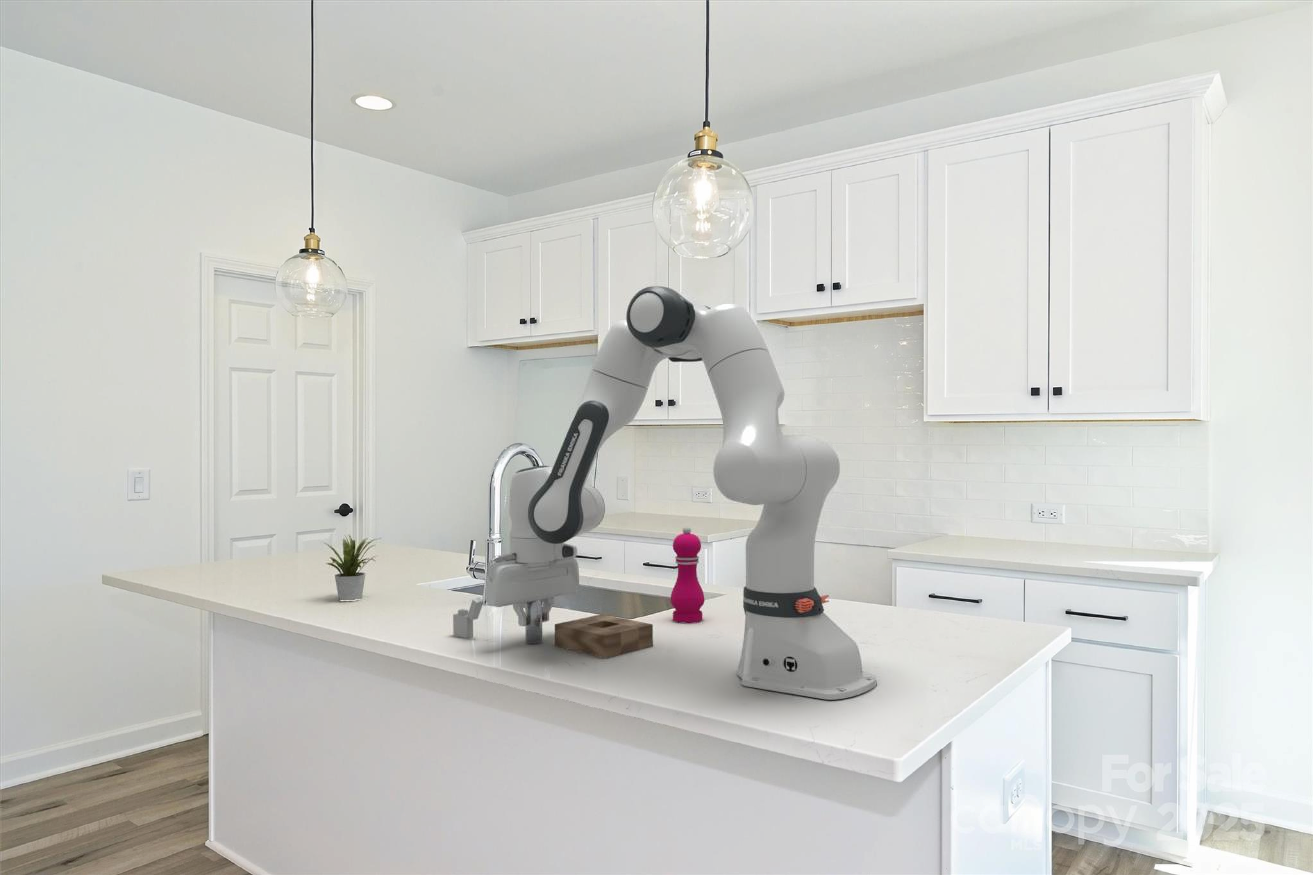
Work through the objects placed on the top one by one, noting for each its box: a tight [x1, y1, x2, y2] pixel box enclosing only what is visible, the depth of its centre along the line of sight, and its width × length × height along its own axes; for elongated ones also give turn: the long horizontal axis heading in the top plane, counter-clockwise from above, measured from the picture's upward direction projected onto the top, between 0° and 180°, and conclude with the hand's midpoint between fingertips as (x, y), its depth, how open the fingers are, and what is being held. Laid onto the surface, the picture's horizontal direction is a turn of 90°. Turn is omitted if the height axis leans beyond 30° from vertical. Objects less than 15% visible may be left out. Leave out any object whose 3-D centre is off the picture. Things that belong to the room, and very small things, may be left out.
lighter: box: [452, 597, 484, 639], centre depth 169 cm, size 7×2×8 cm, turn 55°
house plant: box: [321, 533, 382, 600], centre depth 209 cm, size 14×14×16 cm
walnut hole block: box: [554, 614, 654, 659], centre depth 161 cm, size 14×12×4 cm
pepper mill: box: [670, 525, 706, 624], centre depth 182 cm, size 7×7×20 cm
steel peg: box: [524, 599, 543, 645], centre depth 164 cm, size 3×3×10 cm
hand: (533, 623), depth 164 cm, fingers closed on steel peg, 3 cm apart
